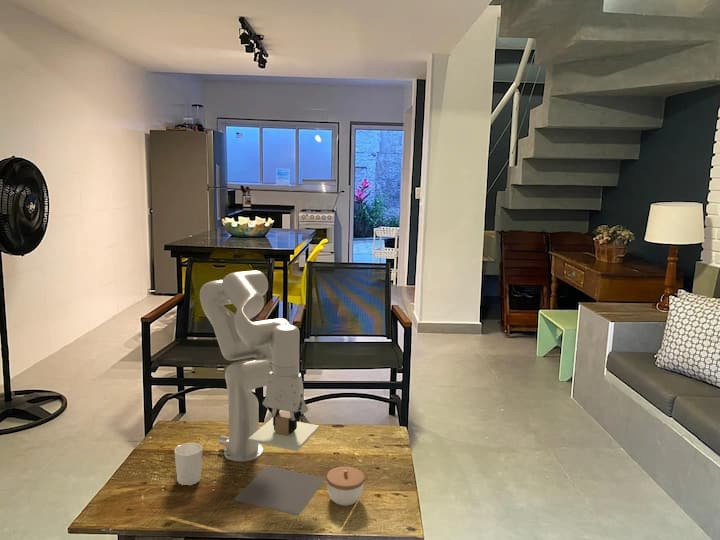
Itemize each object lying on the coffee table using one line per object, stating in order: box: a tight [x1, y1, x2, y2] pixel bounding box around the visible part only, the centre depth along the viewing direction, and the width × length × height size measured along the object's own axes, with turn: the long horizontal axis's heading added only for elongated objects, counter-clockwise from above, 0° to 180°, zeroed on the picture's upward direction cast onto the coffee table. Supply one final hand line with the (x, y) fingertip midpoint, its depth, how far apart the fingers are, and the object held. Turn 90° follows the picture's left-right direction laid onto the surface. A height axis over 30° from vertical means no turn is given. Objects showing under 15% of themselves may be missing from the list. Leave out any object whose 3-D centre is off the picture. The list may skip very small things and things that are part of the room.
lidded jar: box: [326, 465, 365, 507], centre depth 161 cm, size 11×11×9 cm
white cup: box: [174, 442, 203, 486], centre depth 168 cm, size 8×8×10 cm
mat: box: [233, 465, 327, 517], centre depth 166 cm, size 20×20×1 cm
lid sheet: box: [248, 411, 320, 452], centre depth 162 cm, size 15×15×6 cm
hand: (284, 429), depth 162 cm, fingers closed on lid sheet, 4 cm apart
